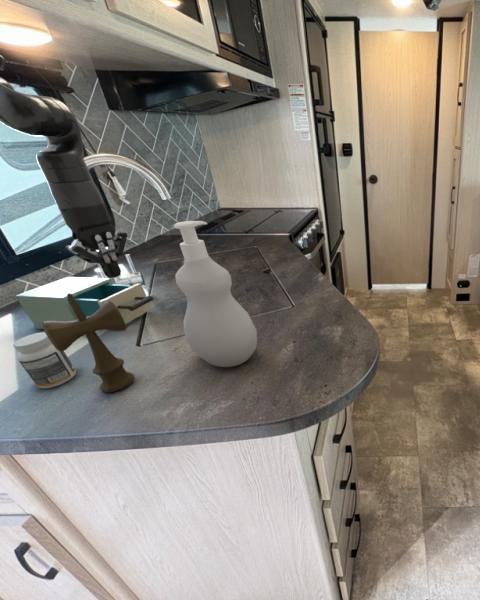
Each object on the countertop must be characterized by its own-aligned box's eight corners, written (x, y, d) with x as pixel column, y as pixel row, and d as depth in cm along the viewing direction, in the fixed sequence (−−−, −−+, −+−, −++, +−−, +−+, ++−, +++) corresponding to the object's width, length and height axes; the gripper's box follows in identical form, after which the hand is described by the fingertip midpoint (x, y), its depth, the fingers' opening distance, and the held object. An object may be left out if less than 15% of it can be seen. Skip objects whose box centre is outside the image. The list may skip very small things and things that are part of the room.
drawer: (166, 309, 87) (156, 284, 84) (132, 330, 78) (119, 302, 74) (113, 306, 89) (100, 281, 86) (72, 326, 80) (57, 299, 76)
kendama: (153, 377, 63) (110, 287, 54) (91, 407, 56) (29, 309, 47) (143, 366, 66) (100, 279, 57) (83, 392, 60) (24, 299, 50)
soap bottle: (276, 352, 70) (245, 220, 57) (231, 384, 61) (180, 236, 48) (227, 334, 77) (188, 213, 64) (179, 360, 68) (123, 225, 55)
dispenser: (124, 309, 90) (110, 278, 86) (81, 331, 79) (62, 297, 75) (84, 306, 92) (67, 276, 87) (36, 328, 81) (15, 295, 77)
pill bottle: (48, 374, 65) (21, 334, 60) (83, 367, 66) (59, 328, 62) (30, 393, 60) (-1, 350, 55) (68, 385, 62) (41, 343, 57)
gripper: (95, 198, 75) (125, 266, 82) (31, 208, 63) (72, 287, 71) (123, 198, 74) (151, 267, 82) (63, 209, 62) (101, 288, 70)
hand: (114, 276), depth 76 cm, fingers closed
